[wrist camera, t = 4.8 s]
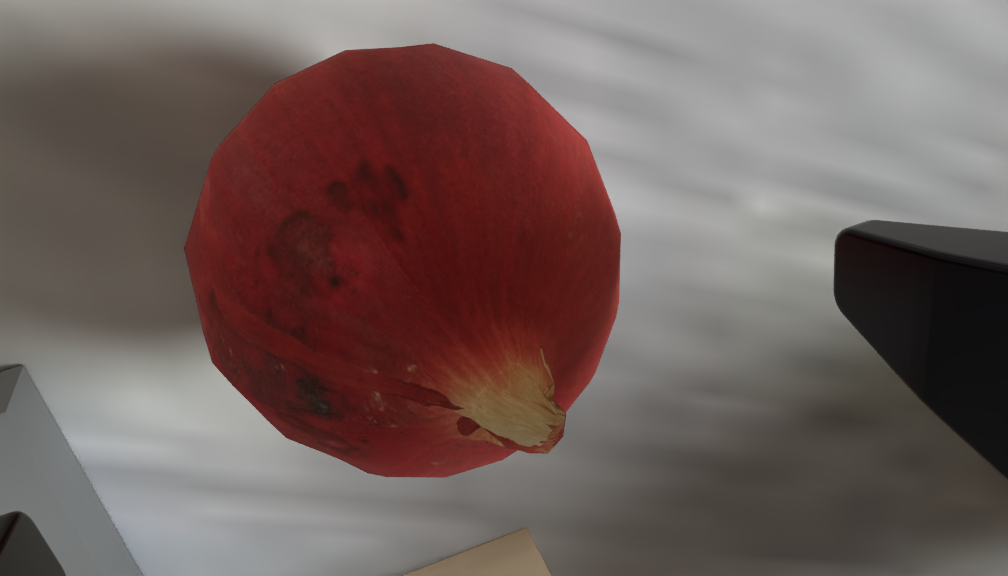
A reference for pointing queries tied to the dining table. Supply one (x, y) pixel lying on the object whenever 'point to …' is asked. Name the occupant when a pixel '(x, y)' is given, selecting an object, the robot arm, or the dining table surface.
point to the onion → (407, 261)
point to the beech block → (493, 559)
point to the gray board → (53, 485)
